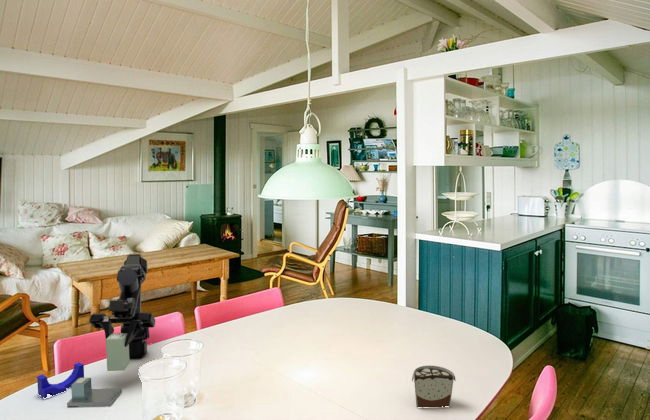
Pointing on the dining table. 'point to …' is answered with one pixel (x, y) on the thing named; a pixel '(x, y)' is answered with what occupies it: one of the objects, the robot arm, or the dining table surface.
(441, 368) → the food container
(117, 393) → the grey base with block
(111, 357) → the block
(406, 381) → the dining table surface
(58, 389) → the blue curved cradle
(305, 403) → the dining table surface
